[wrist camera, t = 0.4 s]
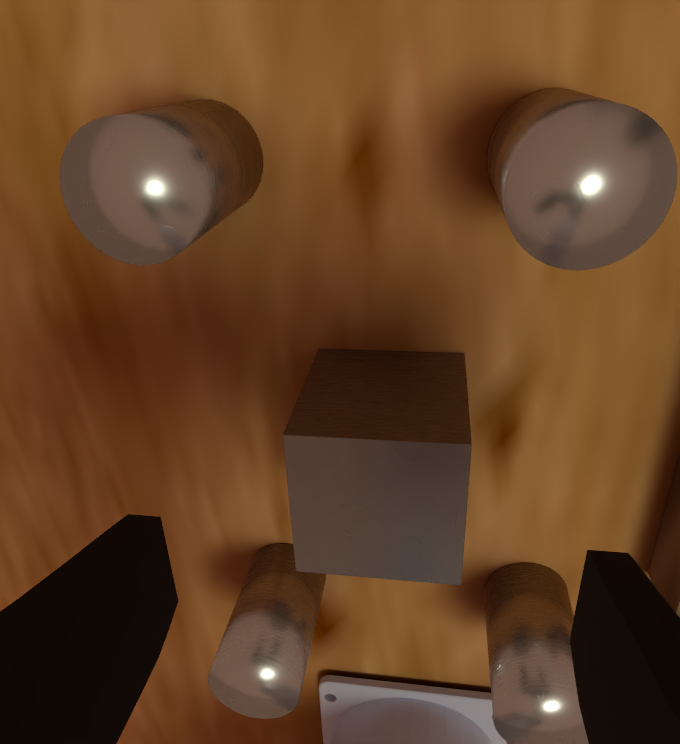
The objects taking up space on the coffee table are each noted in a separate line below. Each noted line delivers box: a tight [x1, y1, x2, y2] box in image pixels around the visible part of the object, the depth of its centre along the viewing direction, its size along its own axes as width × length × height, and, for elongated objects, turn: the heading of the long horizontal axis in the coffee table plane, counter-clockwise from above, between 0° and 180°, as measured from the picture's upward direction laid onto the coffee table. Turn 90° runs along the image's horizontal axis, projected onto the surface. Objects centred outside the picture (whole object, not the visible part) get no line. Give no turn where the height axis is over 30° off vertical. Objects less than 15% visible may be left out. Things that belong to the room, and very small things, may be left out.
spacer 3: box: [487, 88, 677, 270], centre depth 13 cm, size 3×3×5 cm
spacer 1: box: [60, 100, 263, 265], centre depth 15 cm, size 3×3×5 cm
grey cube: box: [283, 349, 472, 585], centre depth 18 cm, size 4×4×5 cm
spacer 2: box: [208, 543, 326, 719], centre depth 22 cm, size 3×3×5 cm
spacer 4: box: [484, 563, 589, 744], centre depth 20 cm, size 3×3×5 cm
